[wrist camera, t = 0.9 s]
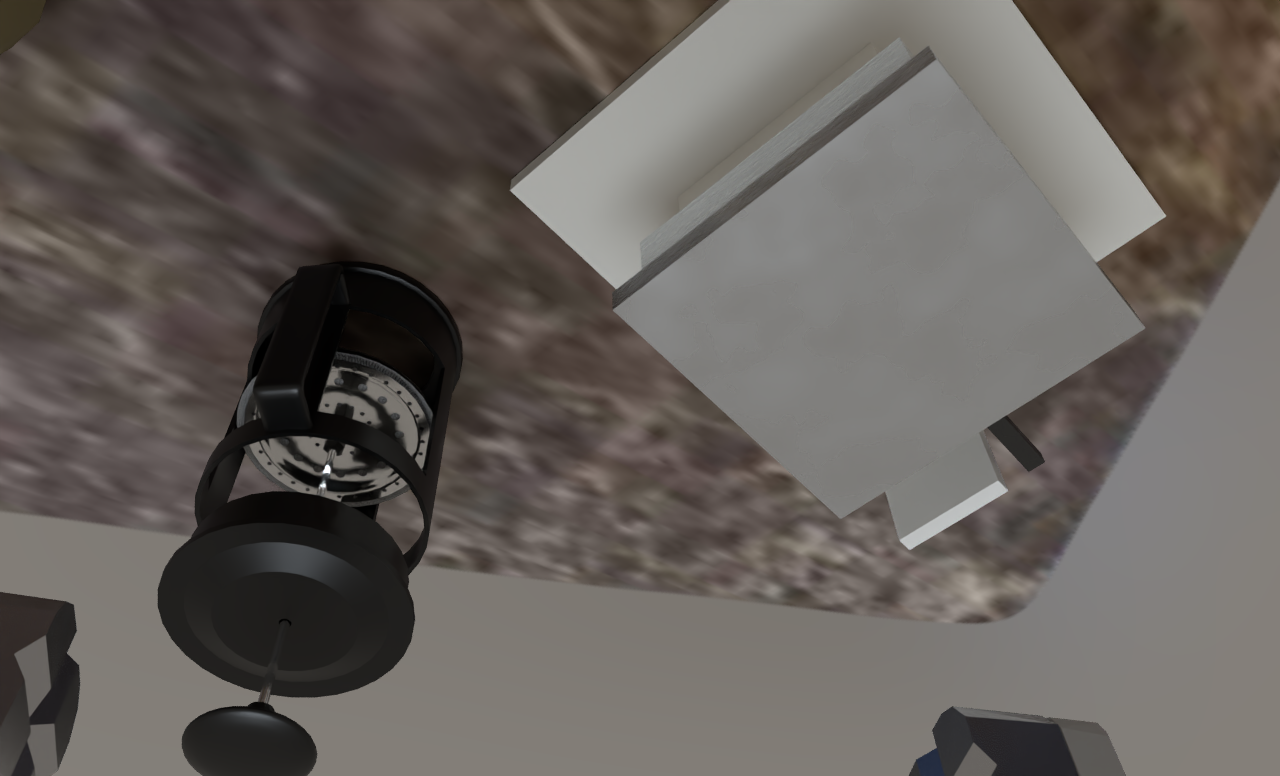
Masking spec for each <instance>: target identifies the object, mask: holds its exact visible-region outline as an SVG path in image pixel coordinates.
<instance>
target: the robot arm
mask: <svg viewBox="0 0 1280 776" xmlns="http://www.w3.org/2000/svg"><path fill="white" fill-rule="evenodd" d="M76 631H77V629H76V619H75V610H74V605H73V604H71V603H69V602H66V601H59V600H52V599H45V598H38V597H31V596H24V595H17V594H10V593H3V592H0V776H51V775H52V774H54V773H55V772H57V771H58V769H59V766H60V764H61V761H62V759H63V756H64V754H65V751H66V749H67V746H68V744H69V741H70V737H71V733H72V730H73V726H74V722H75V718H76V714H77V710H78V702H79V691H80V672H79V665H78V664H77V663H76V662H75V661H74V660H73V659H72V658H71V657H70V656H69V655H68V654H67V652H68V649H69V647H70V645H71V643H72V641H73V638H74V636H75V634H76ZM932 731H933V735H934V739H935V743H936V746H937V748H936V749H934V750H932V751H931V752H929V753H927V754H925V755H923V756H922V757H920V758H918V759H916V762H915V763H914V766H913V768H912V770H911V772H910V774H909V776H1126V775H1125V772H1124V770H1123V768H1122V765H1121V763H1120V761H1119V759H1118V756H1117V754H1116V752H1115V749H1114V747H1113V745H1112V743H1111V740H1110V738H1109V736H1108V734H1107V732H1106V731H1105V730H1104V729H1103V728H1102V727H1101V726H1100V725H1099V724H1098V723H1093V722H1085V721H1076V720H1068V719H1058V718H1050V717H1049V718H1045V717H1043V716H1038V715H1028V714H1019V713H1010V712H1000V711H991V710H981V709H972V708H963V707H954V706H952V707H951V708H949V709H948V710H946V711H945V712H943V713H942V714H941V716H940V717H939V719H938V721H937V723H936V725H935V726H934V728H933V730H932Z"/></svg>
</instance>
